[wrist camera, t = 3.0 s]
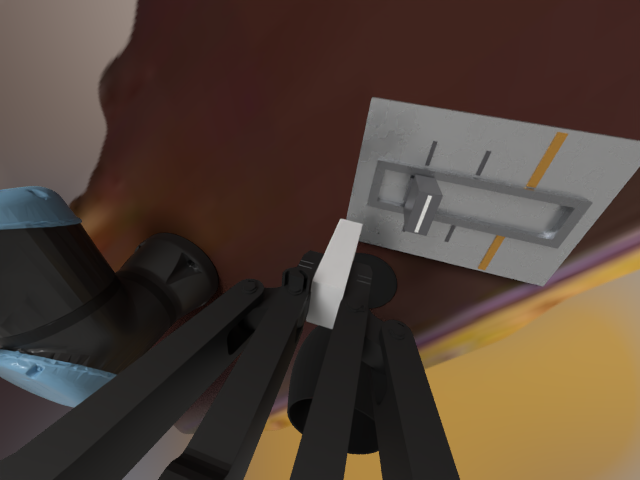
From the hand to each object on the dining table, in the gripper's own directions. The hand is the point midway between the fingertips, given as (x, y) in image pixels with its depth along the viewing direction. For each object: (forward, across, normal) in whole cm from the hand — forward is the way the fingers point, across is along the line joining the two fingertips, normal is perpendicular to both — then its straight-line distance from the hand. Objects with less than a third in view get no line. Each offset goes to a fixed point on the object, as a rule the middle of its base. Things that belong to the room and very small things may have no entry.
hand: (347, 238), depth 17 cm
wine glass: (+16, +2, -16) cm, 23 cm away
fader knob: (+14, +6, 0) cm, 15 cm away
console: (+16, +10, 0) cm, 19 cm away
